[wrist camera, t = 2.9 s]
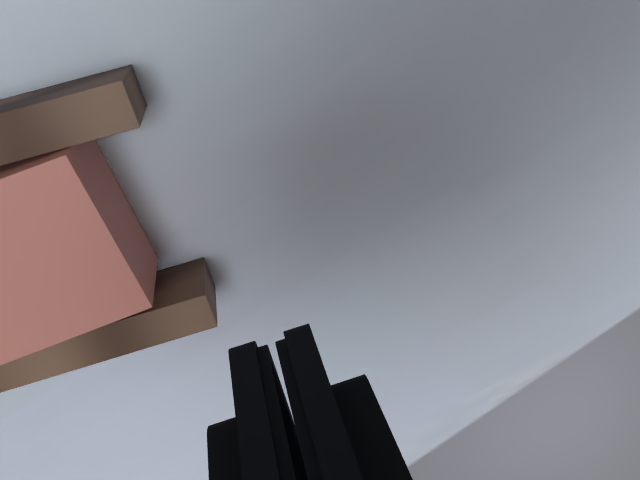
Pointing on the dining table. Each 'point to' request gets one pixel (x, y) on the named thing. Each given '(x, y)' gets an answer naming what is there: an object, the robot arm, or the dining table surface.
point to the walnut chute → (171, 284)
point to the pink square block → (67, 250)
